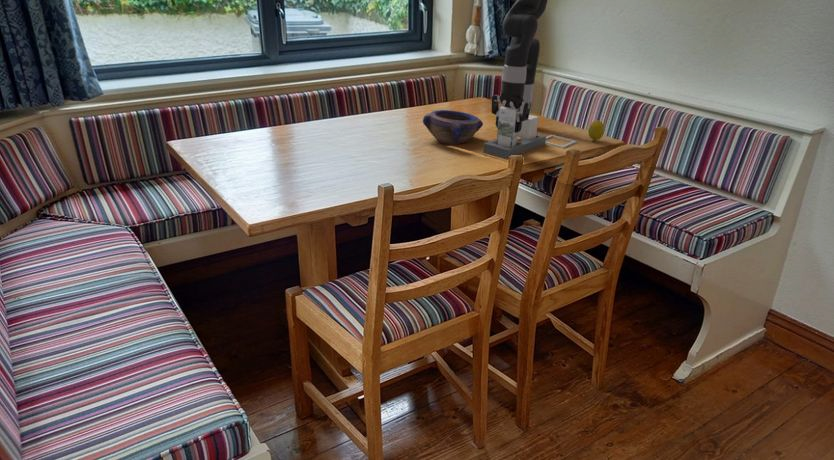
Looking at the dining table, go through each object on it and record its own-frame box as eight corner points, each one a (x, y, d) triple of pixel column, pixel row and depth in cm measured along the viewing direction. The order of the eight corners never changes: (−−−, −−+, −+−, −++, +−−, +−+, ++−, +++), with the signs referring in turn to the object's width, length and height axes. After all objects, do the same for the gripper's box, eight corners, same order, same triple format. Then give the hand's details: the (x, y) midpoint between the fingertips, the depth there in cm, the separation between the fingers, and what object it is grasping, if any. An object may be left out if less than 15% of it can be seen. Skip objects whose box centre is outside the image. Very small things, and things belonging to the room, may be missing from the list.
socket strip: (482, 154, 206) (484, 140, 204) (520, 140, 223) (522, 127, 221) (507, 162, 200) (509, 148, 198) (544, 147, 217) (546, 133, 215)
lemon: (602, 144, 224) (606, 122, 220) (587, 142, 225) (590, 121, 221) (601, 139, 229) (605, 118, 225) (586, 138, 230) (590, 117, 226)
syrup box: (516, 148, 208) (521, 106, 202) (511, 153, 203) (516, 109, 197) (500, 145, 210) (504, 103, 204) (494, 150, 205) (499, 107, 199)
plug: (513, 144, 215) (516, 116, 210) (521, 141, 219) (524, 113, 214) (526, 147, 212) (530, 119, 207) (534, 144, 216) (538, 116, 211)
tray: (537, 144, 220) (537, 140, 219) (551, 138, 227) (551, 134, 226) (562, 150, 214) (563, 146, 213) (576, 145, 221) (576, 141, 220)
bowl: (487, 142, 218) (490, 115, 214) (455, 152, 206) (457, 123, 202) (449, 131, 229) (451, 104, 225) (416, 140, 217) (417, 112, 213)
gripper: (488, 76, 198) (483, 127, 205) (527, 85, 190) (520, 137, 197) (501, 74, 203) (496, 123, 210) (539, 81, 195) (532, 132, 202)
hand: (507, 129), depth 204 cm, fingers closed on syrup box, 6 cm apart
